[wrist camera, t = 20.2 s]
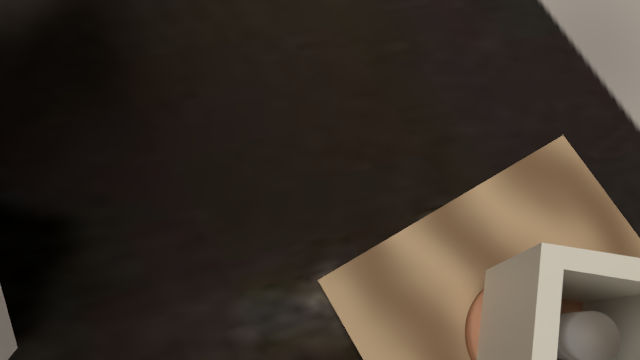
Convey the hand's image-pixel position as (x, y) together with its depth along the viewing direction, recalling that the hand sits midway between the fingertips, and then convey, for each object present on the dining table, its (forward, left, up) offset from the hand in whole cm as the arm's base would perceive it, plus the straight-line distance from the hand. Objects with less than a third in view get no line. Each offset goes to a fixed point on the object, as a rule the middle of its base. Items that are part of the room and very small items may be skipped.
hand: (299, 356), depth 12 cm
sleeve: (+11, -6, -26) cm, 28 cm away
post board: (+11, -6, -30) cm, 32 cm away
